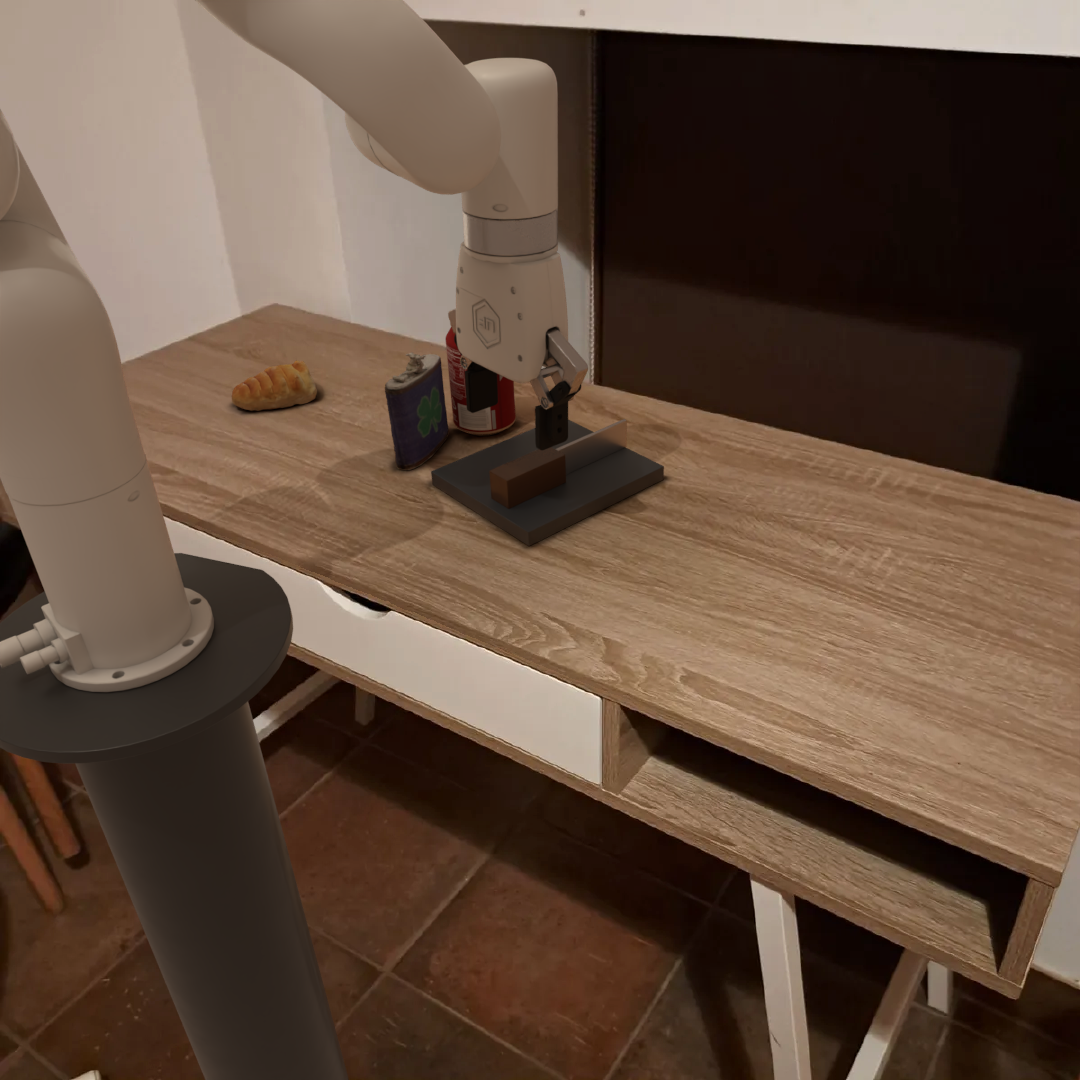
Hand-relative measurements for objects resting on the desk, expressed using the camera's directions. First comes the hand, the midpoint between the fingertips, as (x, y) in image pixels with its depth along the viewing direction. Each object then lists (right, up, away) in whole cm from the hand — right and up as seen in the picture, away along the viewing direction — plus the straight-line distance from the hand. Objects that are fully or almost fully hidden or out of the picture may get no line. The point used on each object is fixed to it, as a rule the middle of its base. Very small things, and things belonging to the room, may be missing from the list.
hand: (516, 425), depth 90 cm
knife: (+4, -4, +7) cm, 9 cm away
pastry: (-28, +6, +28) cm, 40 cm away
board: (+3, -4, +9) cm, 11 cm away
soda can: (-4, +2, +20) cm, 21 cm away
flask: (-10, -1, +16) cm, 19 cm away
